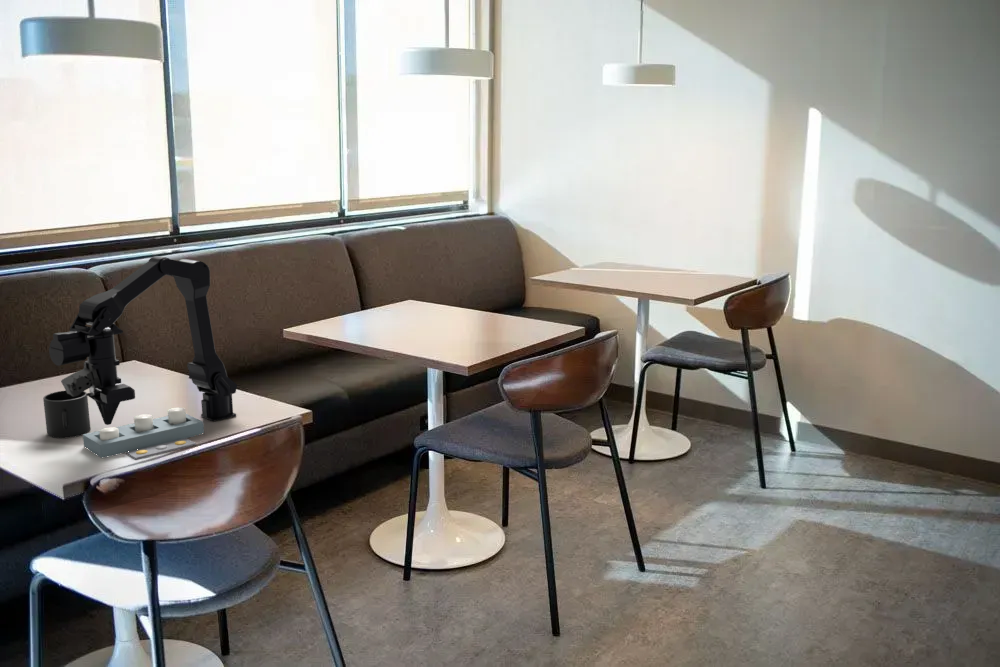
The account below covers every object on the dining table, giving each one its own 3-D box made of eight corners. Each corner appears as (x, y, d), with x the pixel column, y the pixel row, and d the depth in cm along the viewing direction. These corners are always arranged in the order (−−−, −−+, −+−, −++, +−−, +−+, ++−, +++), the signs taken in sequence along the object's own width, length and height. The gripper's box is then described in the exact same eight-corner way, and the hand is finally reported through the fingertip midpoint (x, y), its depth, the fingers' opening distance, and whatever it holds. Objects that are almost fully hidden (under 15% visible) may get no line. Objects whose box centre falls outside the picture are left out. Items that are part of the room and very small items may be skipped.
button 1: (115, 441, 221) (114, 426, 220) (122, 445, 218) (121, 430, 218) (97, 445, 219) (96, 430, 218) (105, 449, 216) (103, 434, 215)
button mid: (149, 428, 226) (147, 413, 226) (156, 432, 224) (155, 417, 223) (132, 431, 224) (131, 416, 223) (139, 436, 221) (138, 420, 220)
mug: (44, 444, 222) (39, 405, 220) (49, 428, 233) (45, 391, 231) (88, 439, 225) (85, 401, 223) (91, 424, 236) (88, 388, 234)
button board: (184, 424, 236) (183, 412, 235) (204, 433, 229) (203, 421, 228) (84, 447, 220) (82, 434, 219) (101, 458, 212) (100, 445, 212)
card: (185, 439, 224) (185, 437, 224) (196, 444, 221) (195, 442, 221) (126, 453, 215) (125, 451, 215) (135, 459, 212) (135, 457, 211)
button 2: (181, 420, 232) (180, 406, 231) (189, 424, 229) (188, 409, 228) (165, 424, 229) (164, 409, 228) (173, 428, 226) (172, 413, 225)
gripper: (48, 355, 215) (55, 422, 219) (80, 370, 202) (87, 442, 205) (98, 346, 223) (105, 412, 226) (133, 361, 209) (139, 430, 213)
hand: (107, 424), depth 217 cm, fingers closed
